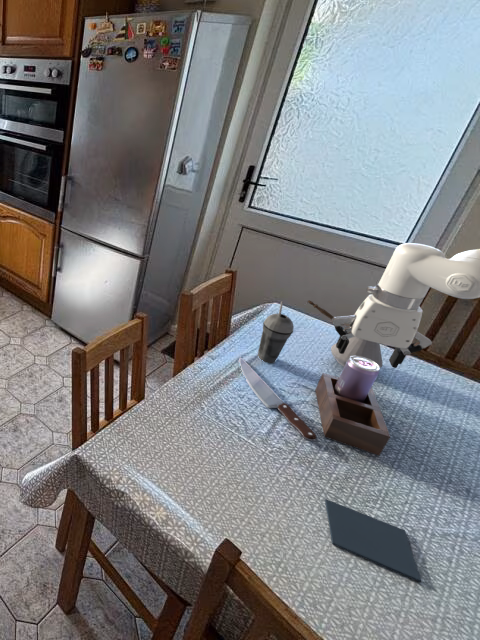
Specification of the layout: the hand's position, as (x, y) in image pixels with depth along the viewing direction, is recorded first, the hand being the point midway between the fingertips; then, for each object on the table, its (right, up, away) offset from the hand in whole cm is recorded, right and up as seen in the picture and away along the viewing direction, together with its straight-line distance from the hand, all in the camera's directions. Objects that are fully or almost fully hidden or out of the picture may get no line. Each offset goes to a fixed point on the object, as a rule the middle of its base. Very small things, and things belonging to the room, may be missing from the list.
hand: (365, 357), depth 100 cm
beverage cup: (-6, -7, +25) cm, 27 cm away
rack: (-2, -17, +4) cm, 17 cm away
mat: (-21, -29, -22) cm, 42 cm away
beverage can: (0, -15, +7) cm, 17 cm away
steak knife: (-15, -13, +11) cm, 23 cm away
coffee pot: (+15, -6, +26) cm, 31 cm away
